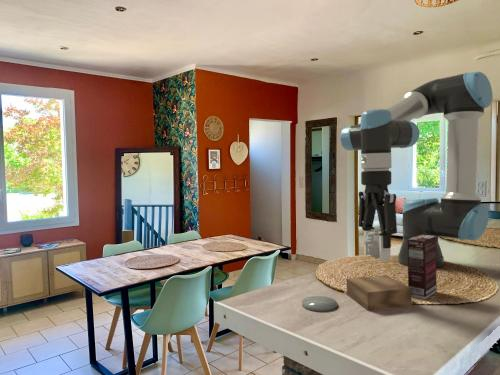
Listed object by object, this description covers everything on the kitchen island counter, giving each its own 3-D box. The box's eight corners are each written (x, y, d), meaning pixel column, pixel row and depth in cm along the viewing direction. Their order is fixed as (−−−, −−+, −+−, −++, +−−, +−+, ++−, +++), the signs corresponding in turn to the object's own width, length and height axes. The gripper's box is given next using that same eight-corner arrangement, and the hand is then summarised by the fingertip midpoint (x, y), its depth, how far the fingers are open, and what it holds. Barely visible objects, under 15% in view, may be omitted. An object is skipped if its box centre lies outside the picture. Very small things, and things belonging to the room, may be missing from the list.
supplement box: (419, 288, 110) (419, 234, 109) (437, 292, 106) (437, 235, 105) (406, 296, 104) (406, 238, 103) (425, 300, 100) (424, 240, 99)
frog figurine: (366, 254, 105) (366, 229, 105) (393, 257, 101) (392, 231, 101) (359, 259, 100) (359, 232, 100) (386, 262, 96) (386, 234, 96)
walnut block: (386, 292, 109) (386, 275, 108) (411, 307, 97) (411, 288, 96) (346, 296, 106) (346, 278, 106) (367, 312, 95) (367, 292, 94)
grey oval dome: (327, 297, 105) (327, 294, 105) (343, 308, 96) (343, 305, 96) (296, 301, 103) (296, 298, 103) (310, 313, 94) (310, 310, 94)
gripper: (344, 170, 108) (345, 250, 109) (385, 170, 89) (386, 267, 90) (368, 169, 110) (369, 248, 111) (413, 169, 91) (413, 264, 92)
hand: (376, 256), depth 101 cm, fingers closed on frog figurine, 6 cm apart
